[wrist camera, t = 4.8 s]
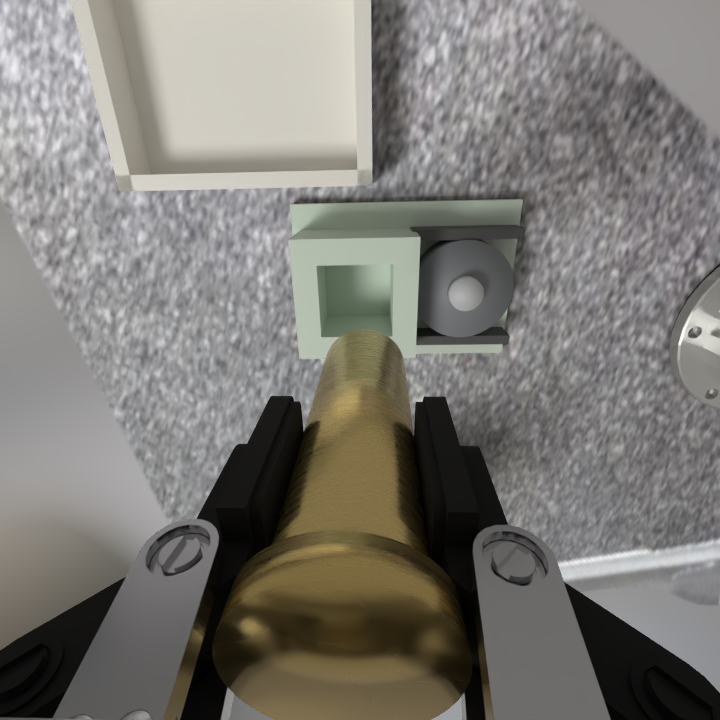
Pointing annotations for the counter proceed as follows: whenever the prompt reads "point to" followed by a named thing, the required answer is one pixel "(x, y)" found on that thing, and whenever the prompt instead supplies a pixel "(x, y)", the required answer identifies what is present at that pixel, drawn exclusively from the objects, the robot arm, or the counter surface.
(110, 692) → the robot arm
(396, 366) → the pin
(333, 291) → the green socket holder
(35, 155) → the counter surface
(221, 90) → the tray
